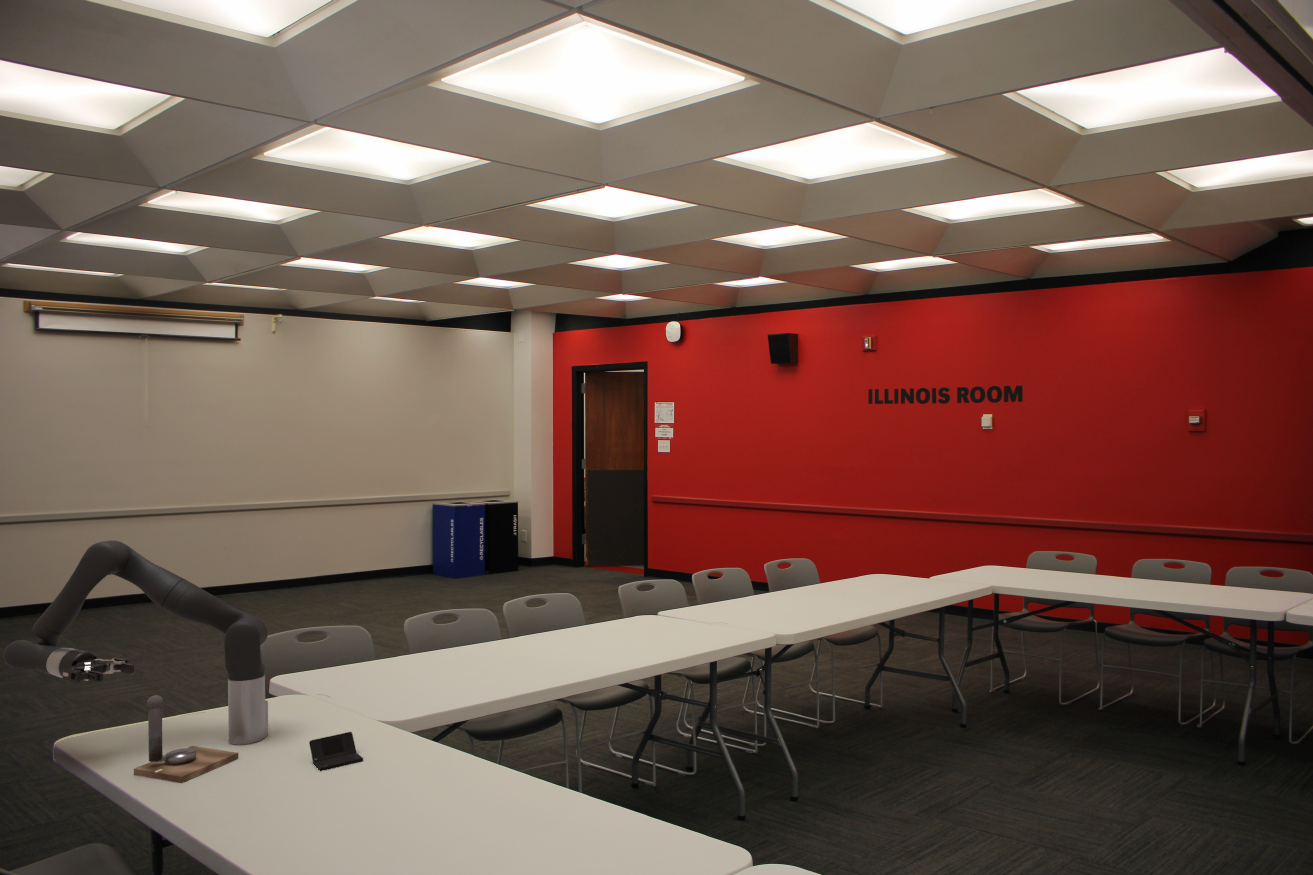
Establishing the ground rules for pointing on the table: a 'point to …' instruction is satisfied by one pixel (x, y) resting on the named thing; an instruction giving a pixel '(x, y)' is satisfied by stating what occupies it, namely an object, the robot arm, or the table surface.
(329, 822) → the table surface
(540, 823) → the table surface
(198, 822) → the table surface
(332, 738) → the handheld gaming console
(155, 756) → the grey upright post stand
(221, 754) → the walnut stand base
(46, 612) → the robot arm
